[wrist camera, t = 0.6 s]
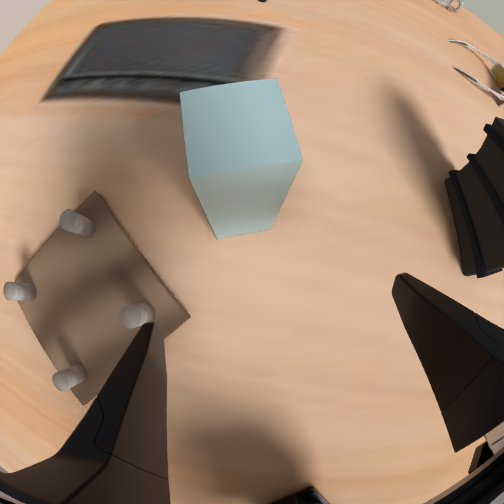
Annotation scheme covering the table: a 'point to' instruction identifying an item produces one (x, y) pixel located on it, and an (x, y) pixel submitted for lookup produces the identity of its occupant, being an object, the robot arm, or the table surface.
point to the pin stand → (91, 297)
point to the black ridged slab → (481, 205)
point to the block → (240, 153)
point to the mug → (446, 2)
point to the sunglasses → (498, 71)
